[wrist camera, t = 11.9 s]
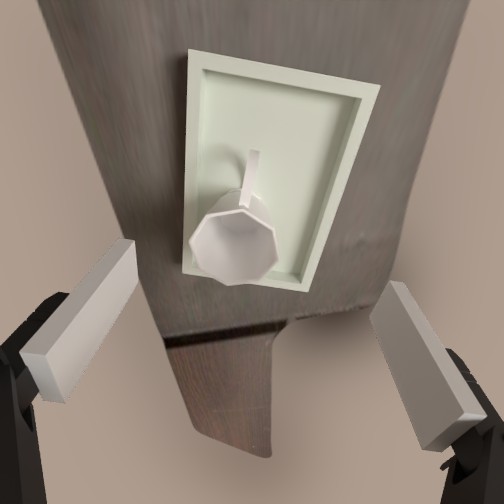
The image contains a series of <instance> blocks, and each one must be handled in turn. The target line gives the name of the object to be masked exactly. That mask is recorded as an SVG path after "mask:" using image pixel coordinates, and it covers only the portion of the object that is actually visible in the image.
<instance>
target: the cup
mask: <svg viewBox="0 0 504 504" xmlns="http://www.w3.org/2000/svg"><path fill="white" fill-rule="evenodd" d="M259 153H260V151H257V150H253V149H250V151H249V156H248V161H247V166H246V171H245V176H244V181H243V186H242V188H237V189H231V190H229V191H228V193H227V194H226V195H224V196H222V197H221V198H220V199H219V200H218V201H217V203H216V204H215V205H214V206H213V207H212V208H211V209H210V210H209V211H208V213H207V214H206V215H205V216H204V218H203V220H202V221H201V223H200V224H199V226H198V227H197V229H196V230H195V232H194V233H193V235H192V236H191V238H190V239H189V241H188V242H189V245H190V248H191V251H192V253H193V256H194V259H195V262H196V265H197V267H198V270H199V271H201V272H203V273H205V274H206V275H208V276H210V277H212V278H214V279H216V280H217V281H219V282H221V283H223V284H225V285H227V286H230V285H239V284H247V283H256V282H260V281H261V280H262V279H263V278H264V277H265V275H266V274H267V273H268V272H269V271H270V270H271V269H272V268H273V267H274V266H275V265H276V263H277V262H278V261H279V260H280V258H279V251H278V245H277V239H276V233H275V228H274V225H273V222H272V220H271V218H270V215H269V212H268V210H267V207H266V206H265V204H264V203H263V202H262V199H261V196H259V195H258V194H256V193H255V192H253V186H254V181H255V176H256V171H257V166H258V160H259Z"/></svg>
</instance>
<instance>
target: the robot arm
mask: <svg viewBox="0 0 504 504" xmlns="http://www.w3.org/2000/svg"><path fill="white" fill-rule="evenodd" d="M137 284H138V271H137V260H136V250H135V240H129V239H122V238H119V239H118V240H117V241H116V242H115V243H114V244H113V245H112V247H111V248H110V249H109V250H108V251H107V253H105V255H104V256H103V257H102V258H101V259H100V260H99V262H98V263H97V264H96V265H95V266H94V267H93V268H92V269H91V271H90V272H89V273H88V274H87V275H86V276H85V277H84V279H83V280H82V281H81V282H80V283H79V284H78V285H77V287H76V288H75V289H74V290H73V291H72V292H71V293H70V294H69V293H63V292H58V293H56V294H54V295H52V296H51V297H49V298H47V299H46V300H44V301H43V302H42V303H41V304H40V305H39V307H38V308H37V309H36V310H35V312H33V313H32V314H31V315H30V316H29V317H28V318H27V321H24V322H23V323H22V324H21V325H20V326H19V327H18V328H17V329H16V330H15V331H14V332H13V333H12V334H11V336H10V337H9V338H8V339H7V340H6V341H5V342H4V343H3V344H2V345H1V346H0V504H47V500H46V493H45V486H44V479H43V472H42V465H41V458H40V451H39V444H38V437H37V430H36V423H35V416H34V409H33V405H32V403H31V402H32V401H33V399H34V398H35V396H36V395H37V394H38V392H39V393H40V395H41V397H42V399H43V401H50V402H58V403H66V402H67V400H68V398H69V396H70V395H71V393H72V392H73V390H74V388H75V387H76V385H77V383H78V381H79V380H80V378H81V377H82V375H83V373H84V372H85V370H86V368H87V367H88V365H89V363H90V362H91V360H92V359H93V357H94V355H95V354H96V352H97V350H98V349H99V347H100V345H101V344H102V342H103V340H104V338H105V337H106V335H107V334H108V332H109V330H110V329H111V327H112V325H113V324H114V322H115V320H116V319H117V317H118V316H119V314H120V312H121V311H122V309H123V307H124V306H125V304H126V302H127V301H128V299H129V297H130V296H131V294H132V292H133V291H134V289H135V287H136V286H137ZM369 319H370V322H371V324H372V326H373V329H374V331H375V334H376V336H377V339H378V341H379V344H380V346H381V349H382V351H383V354H384V356H385V359H386V361H387V364H388V366H389V369H390V371H391V374H392V376H393V379H394V381H395V384H396V386H397V389H398V391H399V394H400V396H401V398H402V401H403V404H404V406H405V408H406V411H407V413H408V416H409V418H410V421H411V423H412V426H413V428H414V431H415V433H416V436H417V438H418V441H419V443H420V446H421V448H422V450H428V451H436V452H443V451H444V450H445V449H446V448H448V447H449V446H450V445H451V446H452V448H453V450H454V452H455V455H454V456H453V457H451V458H450V459H449V460H447V461H446V462H445V463H443V464H442V465H441V467H440V469H441V470H442V471H443V470H445V469H446V468H447V467H449V469H448V474H447V478H446V482H445V486H444V490H443V494H442V498H441V503H440V504H504V422H503V421H502V419H501V418H500V416H499V415H498V413H497V412H496V410H495V409H494V407H493V405H492V404H491V402H490V401H489V399H488V398H487V396H486V395H485V393H484V392H483V390H482V389H481V387H480V386H479V385H478V384H477V383H476V382H477V381H476V380H475V378H474V377H473V375H472V374H470V371H469V369H468V368H467V366H466V365H465V363H464V362H463V360H462V359H460V357H459V356H458V355H457V354H456V353H454V351H452V350H451V349H447V348H444V346H443V345H442V343H441V342H440V340H439V338H438V337H437V335H436V334H435V332H434V330H433V329H432V327H431V326H430V324H429V322H428V321H427V319H426V318H425V316H424V314H423V313H422V311H421V310H420V308H419V307H418V305H417V303H416V302H415V300H414V299H413V297H412V295H411V294H410V292H409V291H408V289H407V287H406V286H405V284H404V283H402V282H396V281H389V282H388V284H387V286H386V287H385V289H384V291H383V293H382V295H381V296H380V298H379V300H378V302H377V303H376V305H375V307H374V309H373V311H372V312H371V314H370V316H369Z"/></svg>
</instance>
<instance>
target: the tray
mask: <svg viewBox="0 0 504 504" xmlns="http://www.w3.org/2000/svg"><path fill="white" fill-rule="evenodd" d="M380 86H381V85H375V84H370V83H365V82H360V81H354V80H349V79H344V78H339V77H333V76H328V75H323V74H318V73H312V72H307V71H302V70H297V69H291V68H286V67H281V66H276V65H270V64H265V63H260V62H255V61H249V60H244V59H239V58H234V57H228V56H223V55H218V54H213V53H207V52H202V51H197V50H192V49H188V80H187V117H186V154H185V191H184V228H183V265H182V273H185V274H191V275H198V276H204V277H210V276H208V275H206V274H205V273H203V272H201V271H199V270H198V267H197V265H196V262H195V259H194V256H193V253H192V251H191V248H190V245H189V242H188V241H189V239H190V238H191V236H192V235H193V233H194V232H195V230H196V229H197V227H198V226H199V224H200V223H201V221H202V220H203V218H204V216H205V215H206V214H207V213H208V211H209V210H210V209H211V208H212V207H213V206H214V205H215V204H216V203H217V201H218V200H219V199H220V198H221V197H222V196H224V195H226V194H227V193H228V191H229V190H231V189H237V188H242V186H243V181H244V176H245V171H246V166H247V161H248V156H249V151H250V149H253V150H257V151H260V153H259V160H258V166H257V171H256V176H255V181H254V186H253V192H255V193H256V194H258V195H259V196H261V199H262V202H263V203H264V204H265V206H266V207H267V210H268V212H269V215H270V218H271V220H272V222H273V225H274V228H275V233H276V239H277V245H278V251H279V258H280V260H279V261H278V262H277V263H276V265H275V266H274V267H273V268H272V269H271V270H270V271H269V272H268V273H267V274H266V275H265V277H264V278H263V279H262V280H261V281H260V282H256V283H250V284H257V285H264V286H270V287H277V288H283V289H290V290H297V291H303V292H308V290H309V288H310V285H311V282H312V279H313V276H314V273H315V271H316V268H317V265H318V262H319V259H320V256H321V253H322V251H323V248H324V245H325V242H326V239H327V236H328V234H329V231H330V228H331V225H332V222H333V219H334V217H335V214H336V211H337V208H338V205H339V202H340V200H341V197H342V194H343V191H344V188H345V185H346V183H347V180H348V177H349V174H350V171H351V168H352V166H353V163H354V160H355V157H356V154H357V151H358V148H359V146H360V143H361V140H362V137H363V134H364V131H365V129H366V126H367V123H368V120H369V117H370V114H371V112H372V109H373V106H374V103H375V100H376V97H377V95H378V92H379V89H380ZM211 278H212V277H211Z"/></svg>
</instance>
